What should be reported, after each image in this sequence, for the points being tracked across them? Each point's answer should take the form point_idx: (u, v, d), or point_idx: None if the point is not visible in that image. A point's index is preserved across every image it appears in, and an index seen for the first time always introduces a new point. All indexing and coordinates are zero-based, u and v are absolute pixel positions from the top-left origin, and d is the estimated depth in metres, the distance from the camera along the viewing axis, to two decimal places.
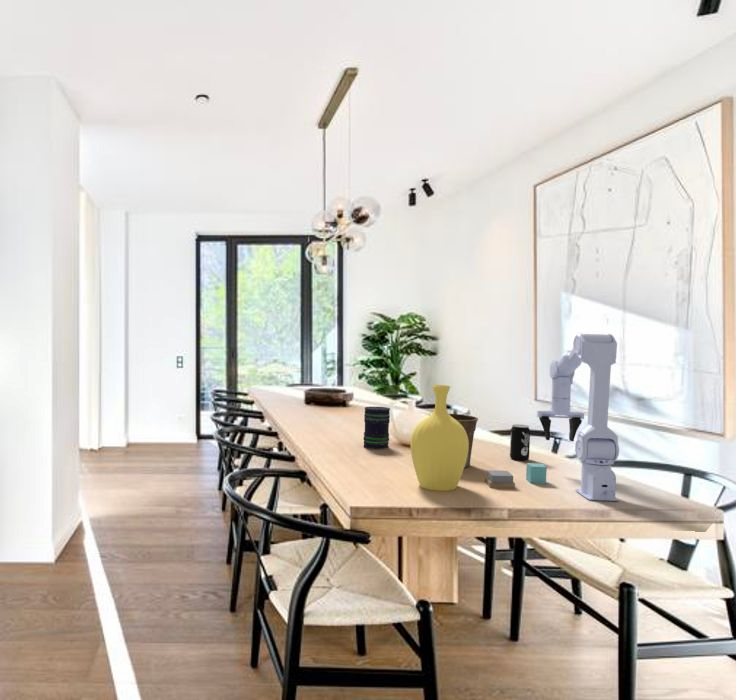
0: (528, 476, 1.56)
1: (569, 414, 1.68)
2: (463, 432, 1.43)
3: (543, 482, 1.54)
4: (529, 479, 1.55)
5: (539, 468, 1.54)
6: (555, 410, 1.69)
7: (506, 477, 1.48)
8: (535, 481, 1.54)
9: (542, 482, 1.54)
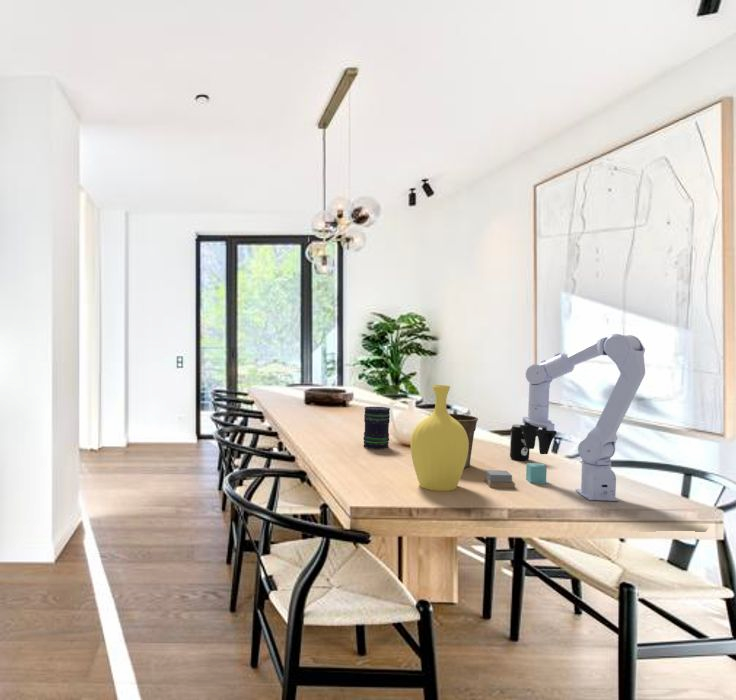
0: (528, 476, 1.56)
1: (533, 422, 1.53)
2: (463, 432, 1.43)
3: (543, 482, 1.54)
4: (529, 479, 1.55)
5: (539, 468, 1.54)
6: None
7: (505, 476, 1.48)
8: (535, 481, 1.54)
9: (542, 482, 1.54)
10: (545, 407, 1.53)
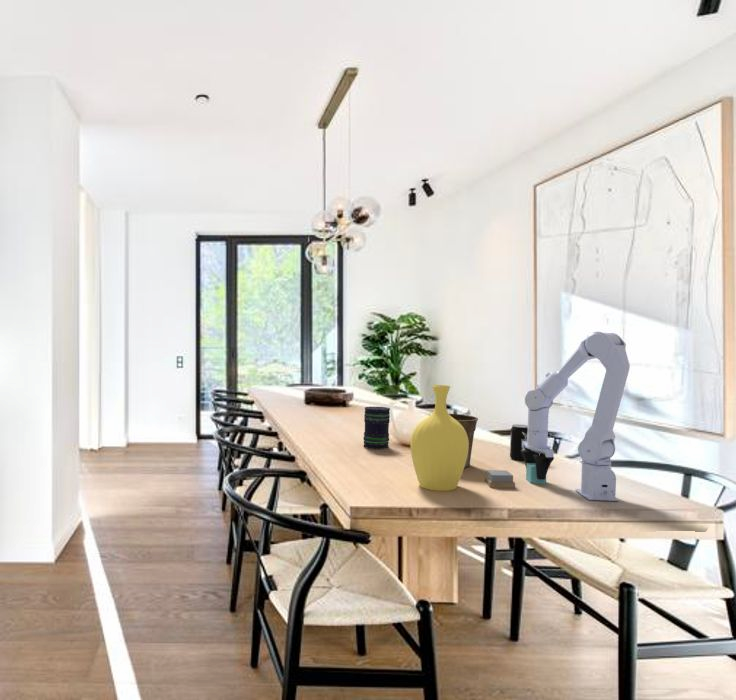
0: (528, 476, 1.56)
1: (533, 448, 1.53)
2: (463, 432, 1.43)
3: (543, 482, 1.54)
4: (529, 479, 1.55)
5: None
6: None
7: (506, 477, 1.48)
8: (535, 481, 1.54)
9: (542, 482, 1.54)
10: (544, 433, 1.53)
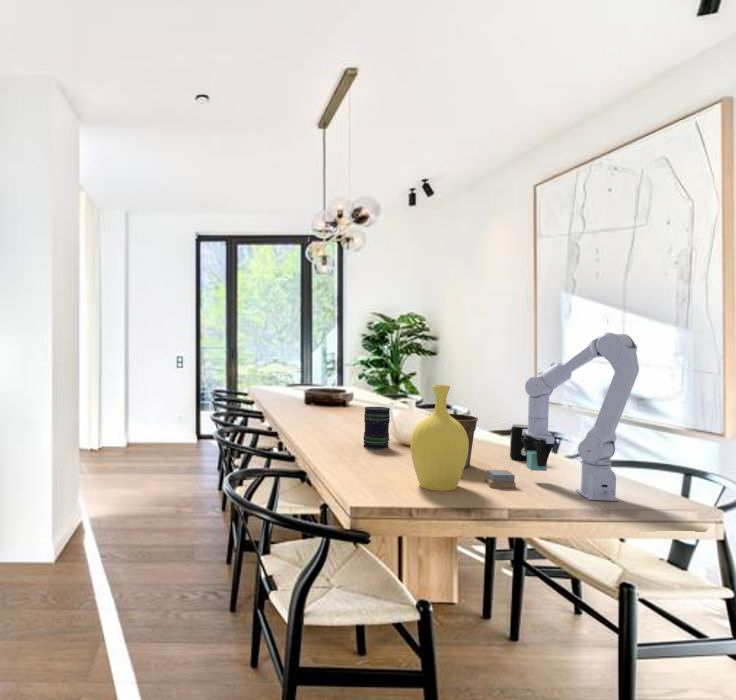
0: (528, 463, 1.56)
1: (533, 435, 1.53)
2: (463, 432, 1.43)
3: (544, 469, 1.54)
4: (530, 466, 1.55)
5: None
6: None
7: (508, 476, 1.48)
8: (536, 468, 1.54)
9: (543, 469, 1.54)
10: (545, 420, 1.53)
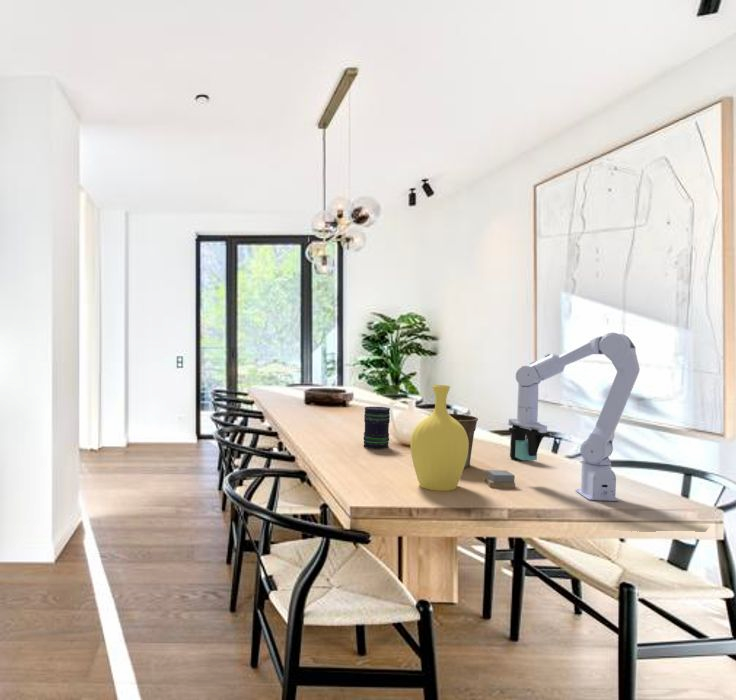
0: (518, 453, 1.54)
1: (525, 425, 1.51)
2: (463, 432, 1.43)
3: (534, 458, 1.52)
4: (520, 456, 1.53)
5: None
6: None
7: (508, 476, 1.48)
8: (527, 457, 1.52)
9: (533, 458, 1.52)
10: (535, 409, 1.52)
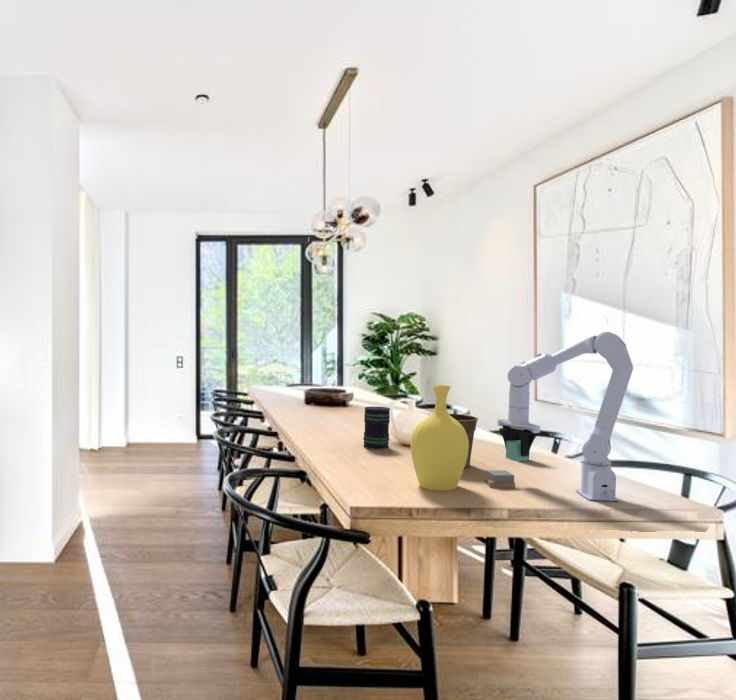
0: (510, 454, 1.53)
1: (517, 425, 1.50)
2: (463, 432, 1.43)
3: (526, 459, 1.52)
4: (512, 457, 1.51)
5: None
6: (508, 419, 1.54)
7: (508, 476, 1.48)
8: (519, 458, 1.51)
9: (525, 459, 1.51)
10: (527, 409, 1.51)
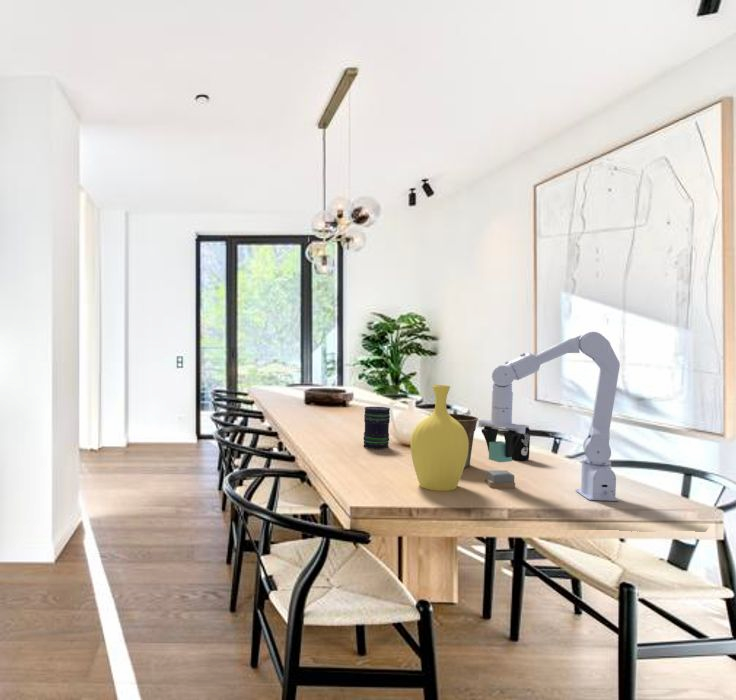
0: (493, 455, 1.50)
1: (502, 426, 1.48)
2: (463, 432, 1.43)
3: (509, 459, 1.50)
4: (496, 458, 1.49)
5: None
6: (491, 420, 1.51)
7: (507, 477, 1.48)
8: (503, 459, 1.49)
9: (508, 459, 1.50)
10: (511, 409, 1.49)
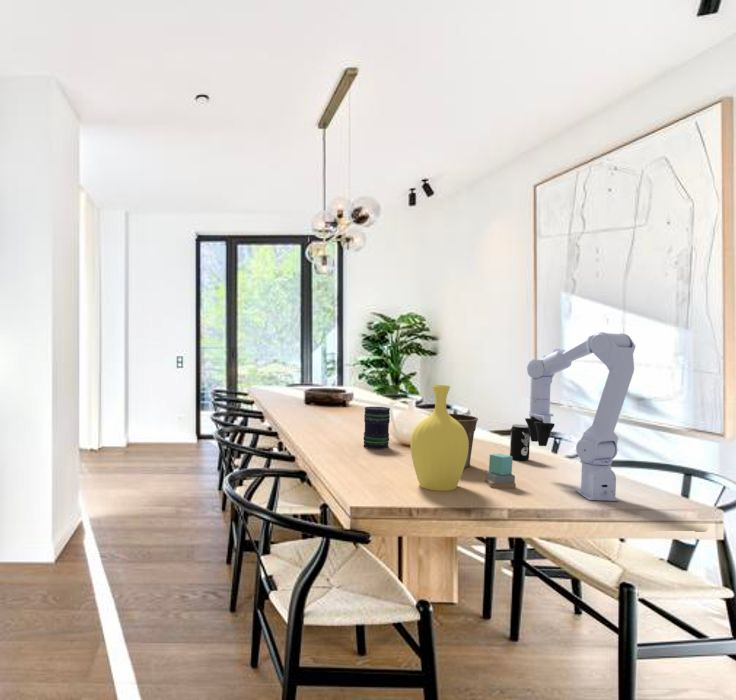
0: (494, 468, 1.50)
1: (533, 415, 1.59)
2: (463, 432, 1.43)
3: (509, 472, 1.50)
4: (498, 471, 1.49)
5: (507, 458, 1.49)
6: None
7: (508, 477, 1.48)
8: (505, 472, 1.49)
9: (509, 472, 1.50)
10: (545, 401, 1.58)
